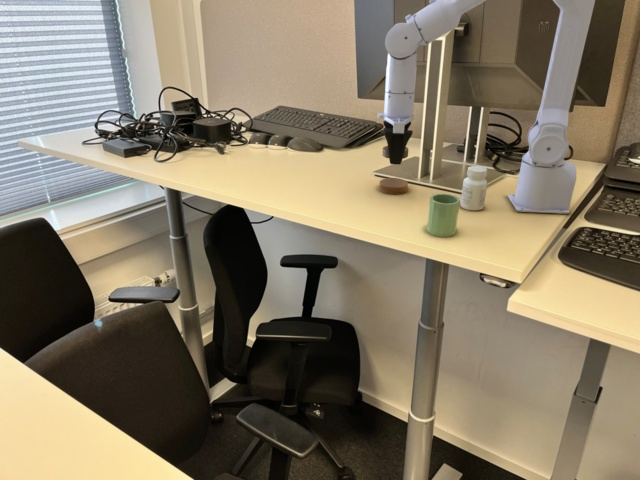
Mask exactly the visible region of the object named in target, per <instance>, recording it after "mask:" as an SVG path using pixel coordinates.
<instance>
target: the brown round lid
mask: <svg viewBox="0 0 640 480" xmlns="http://www.w3.org/2000/svg"><path fill="white" fill-rule="evenodd" d="M382 157H384V158H385V159H389V151H388V145H385V146H383V147H382ZM408 157H409V147H407V146H406V148H405V151H404V155H403V159H402V160H405V159H407V158H408Z"/></svg>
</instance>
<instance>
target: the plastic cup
mask: <svg viewBox="0 0 640 480" xmlns="http://www.w3.org/2000/svg"><path fill="white" fill-rule="evenodd" d="M460 202H461V198H460V197H458V196H456V195H453V194H450V193H435V194H432V195H431V196H430V197H429V204H428V213H427V214H428V216H427V224H426V231H427V232H428V233H429V234H430V235H432V236H434V237H439V238H448V237H452V236H454V235H455V234H456V231H457V225H458V218H459V211H460V206H461V205H460Z"/></svg>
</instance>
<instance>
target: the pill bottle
mask: <svg viewBox="0 0 640 480" xmlns="http://www.w3.org/2000/svg"><path fill="white" fill-rule="evenodd" d="M487 174H488V169H487V168H486V167H484V166H480V165H471V166H468V167H467V172H466V176H467V177H465V178H464V179H463V180H462V181H463V182H462V188H461V196H460V205H459V206H460V208H462V209H464V210H467V211H474V212H475V211H481V210H482V209H484V206H485V202H486V194H487V188H488V181H487V179H486V178H487Z"/></svg>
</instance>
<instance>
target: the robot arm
mask: <svg viewBox="0 0 640 480" xmlns="http://www.w3.org/2000/svg"><path fill="white" fill-rule="evenodd" d="M486 1H487V0H429V1H428V2H429V4H428V5H426V6H425V7H423V8H421V9H420V10H418V11H417V12H415V13H414V14H411V13H410V14H408V15H406V16H405V17H404V18H405V21H406V22H398V23H395V24H394V25H393V26H392V27H391V28H390V29H389V30H388V32H387V33H386V36H385V40H384V45H385V50H386V52H387V58H386V59H387V62H386V63H387V64H386V67H385V84H384V88H385V89H384V102H383V104H384V105H383V112H379V113H377V119H379V120H380V119H381V120H382V119H383V126H384V127H383V130H382V133H383V135H384V137H385V140H386V144H387V146H388V151H389V158H388V160H389V163H390V165H402V162H403V160H404V159H403V155H404V151H405V148H406V147H407V145H408V142H409V141H410V139H411V138H412V136H413V133H414V131H413V130H412V129H411V130H410V127H411V125H412V121H414V119H415V115H414V108H415V107H414V106H415V94H416V83H417V71H418V67H417V59H418V50H420V48H421V46H425V47H426V46H428V45H429V44H432V42H435V41H436V40H438V39H439V38H441V37H443V36H444V35H447V33H450V32H452V30H454V29H456V28H457V27H458V26H459V24H460V21H461V18H462V15H464V14H465V13H467V12H469V11H470V10H472V9H474V8H476V7H477V6H479V5H482V4H483V3H484V2H486ZM552 1H553V3H554V4H555V5H556V6H557V7H558V8H559V14H558V15H559V16H558V20H557V25H556V30H555V34H554V40H553V44H552V49H551V54H550V58H549V63H548V68H547V73H546V78H545V82H544V87H543V91H542V96H541V100H540V101H541V102H540V105H539V108H538V111H537V114H536V119H535V121H534V124H533V125H532V126H531V127H530V128H529V131H528V132H527V136H526V140H527V141H526V142H527V144H528V151H527V152H525V154H523V155H522V158H521V164H520V169H519V173H518V179H517V182H516V183H517V184H516V188H515V194H513V193H511V194H510V193H509V194H508V195H507V197H508V199H509V202H511V204H512V205H513V208H514V210H515V211H516V212H519V213H539V214H540V213H541V214H543V213H544V214H565V215H566V214H570V212H571V211H570V210H569V209H570V207H571V202H572V198H573V195H574V190H575V187H576V183H577V167H576V165H575V163H574V162H572V161H565V158H566V156H567V154H568V152H569V148H570V144H569V140H568V138H567V137H568V136H567V131H568V127H569V113H570V107H571V103H572V99H573V95H574V91H575V87H576V82H577V79H578V74H579V70H580V66H581V62H582V58H583V53H584V49H585V45H586V41H587V37H588V32H589V28H590V24H591V21H592V15H593V11H594V8H595V3H596V0H552Z"/></svg>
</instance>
